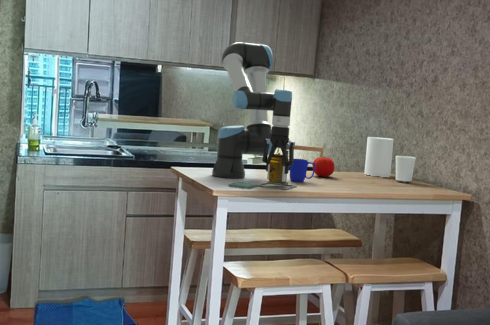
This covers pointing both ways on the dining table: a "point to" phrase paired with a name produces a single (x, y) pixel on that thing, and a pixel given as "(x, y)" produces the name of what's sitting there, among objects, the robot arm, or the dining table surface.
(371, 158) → the canister
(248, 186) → the mat
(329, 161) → the tomato
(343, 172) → the dining table surface
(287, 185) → the frame
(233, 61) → the robot arm
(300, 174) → the mug
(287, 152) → the post
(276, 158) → the condiment
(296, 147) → the tan bent bar
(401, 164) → the cup
